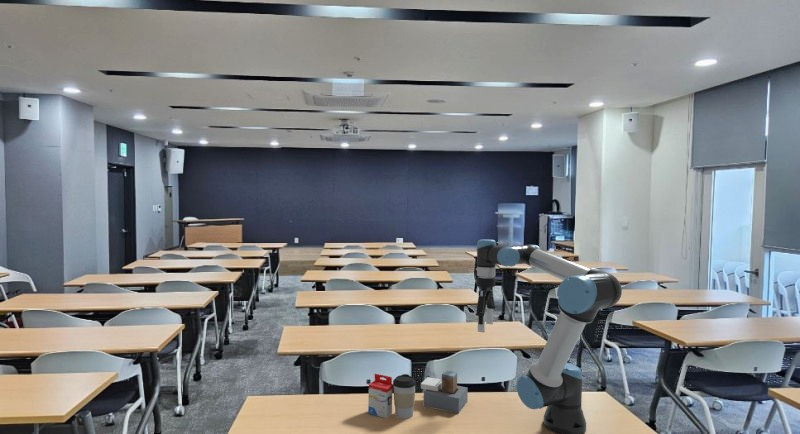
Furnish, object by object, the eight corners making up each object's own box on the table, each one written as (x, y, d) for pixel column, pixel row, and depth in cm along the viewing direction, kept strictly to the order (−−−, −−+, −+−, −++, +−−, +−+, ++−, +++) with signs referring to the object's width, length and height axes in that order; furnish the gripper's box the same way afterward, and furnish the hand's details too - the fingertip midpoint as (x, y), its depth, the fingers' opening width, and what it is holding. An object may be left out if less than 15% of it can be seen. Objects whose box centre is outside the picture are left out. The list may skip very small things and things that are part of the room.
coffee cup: (413, 421, 176) (413, 382, 175) (390, 419, 177) (390, 380, 177) (417, 410, 185) (417, 373, 184) (395, 408, 186) (395, 372, 186)
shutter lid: (444, 384, 195) (444, 379, 195) (437, 391, 188) (437, 385, 188) (427, 381, 199) (427, 376, 199) (420, 388, 191) (420, 382, 191)
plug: (456, 400, 192) (457, 372, 191) (453, 405, 187) (453, 376, 187) (445, 398, 194) (445, 370, 194) (441, 403, 189) (441, 374, 189)
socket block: (467, 401, 193) (467, 387, 193) (458, 413, 182) (458, 398, 182) (434, 395, 200) (434, 381, 200) (423, 406, 189) (423, 391, 189)
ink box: (367, 413, 182) (367, 377, 181) (374, 408, 186) (374, 373, 186) (386, 418, 178) (386, 381, 177) (392, 413, 182) (392, 376, 182)
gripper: (484, 272, 203) (484, 319, 204) (468, 280, 181) (468, 334, 181) (501, 273, 200) (501, 321, 201) (487, 282, 177) (486, 336, 178)
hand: (485, 327), depth 191 cm, fingers open, 13 cm apart
